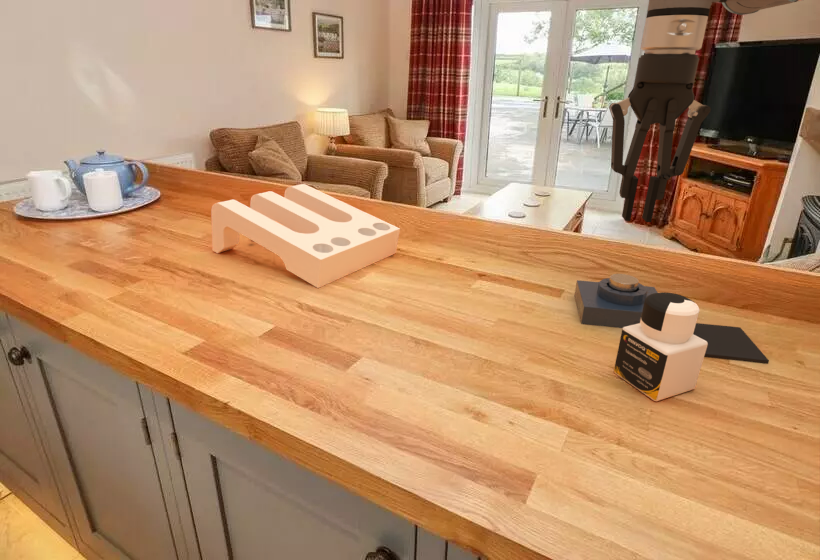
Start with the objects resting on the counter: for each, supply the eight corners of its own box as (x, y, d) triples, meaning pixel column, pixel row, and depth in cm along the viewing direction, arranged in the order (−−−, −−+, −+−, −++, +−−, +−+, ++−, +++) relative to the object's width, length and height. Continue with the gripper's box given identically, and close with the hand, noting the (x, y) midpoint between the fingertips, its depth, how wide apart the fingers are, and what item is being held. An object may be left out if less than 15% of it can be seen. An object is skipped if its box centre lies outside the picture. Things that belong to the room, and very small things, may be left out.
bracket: (320, 259, 88) (210, 199, 102) (315, 314, 94) (212, 250, 108) (400, 228, 106) (297, 180, 120) (391, 276, 112) (294, 225, 126)
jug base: (650, 303, 87) (656, 277, 85) (667, 333, 77) (674, 304, 75) (574, 296, 89) (578, 270, 87) (581, 324, 79) (585, 296, 77)
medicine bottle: (612, 372, 66) (628, 292, 62) (650, 361, 69) (669, 283, 64) (655, 403, 60) (677, 316, 56) (695, 389, 63) (720, 306, 58)
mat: (739, 330, 78) (740, 327, 78) (768, 364, 69) (769, 360, 69) (671, 323, 80) (672, 320, 79) (691, 355, 71) (692, 352, 70)
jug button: (633, 284, 83) (635, 274, 82) (639, 295, 79) (641, 285, 78) (606, 282, 83) (608, 272, 83) (610, 292, 79) (612, 282, 79)
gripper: (615, 51, 65) (587, 222, 74) (742, 52, 62) (697, 229, 72) (606, 53, 72) (582, 209, 81) (720, 54, 69) (682, 216, 78)
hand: (636, 218), depth 76 cm, fingers open, 2 cm apart
